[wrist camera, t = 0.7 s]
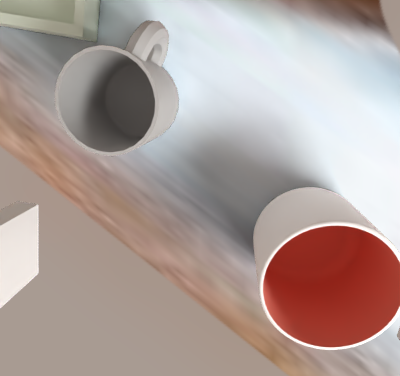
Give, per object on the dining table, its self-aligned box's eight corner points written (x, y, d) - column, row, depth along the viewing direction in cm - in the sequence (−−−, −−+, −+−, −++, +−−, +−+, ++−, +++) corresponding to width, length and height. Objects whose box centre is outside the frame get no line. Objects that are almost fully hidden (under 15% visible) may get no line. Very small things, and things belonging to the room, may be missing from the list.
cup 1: (91, 117, 33) (39, 125, 24) (134, 12, 30) (94, -20, 21) (159, 153, 33) (131, 174, 24) (208, 53, 30) (197, 37, 22)
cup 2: (239, 263, 35) (240, 327, 25) (271, 170, 32) (286, 202, 23) (335, 292, 35) (373, 367, 25) (376, 201, 32) (435, 246, 22)
